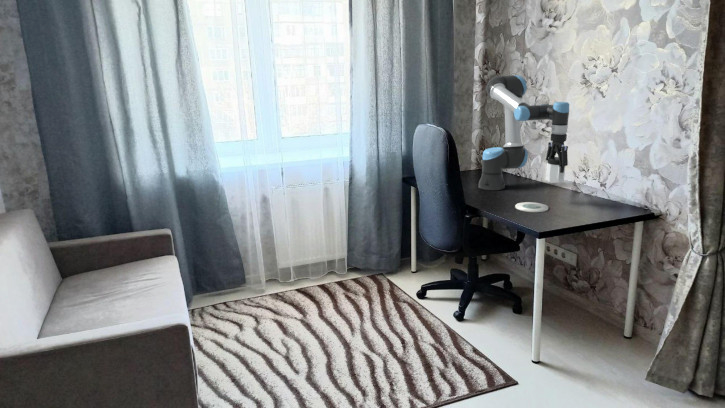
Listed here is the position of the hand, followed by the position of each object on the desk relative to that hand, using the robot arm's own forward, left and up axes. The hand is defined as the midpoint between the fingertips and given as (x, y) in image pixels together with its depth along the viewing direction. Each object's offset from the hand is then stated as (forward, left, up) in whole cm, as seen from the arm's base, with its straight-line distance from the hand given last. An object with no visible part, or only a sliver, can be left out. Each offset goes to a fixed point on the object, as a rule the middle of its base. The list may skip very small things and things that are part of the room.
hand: (555, 176), depth 256 cm
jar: (0, 0, -3) cm, 3 cm away
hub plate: (+6, -16, -14) cm, 22 cm away
